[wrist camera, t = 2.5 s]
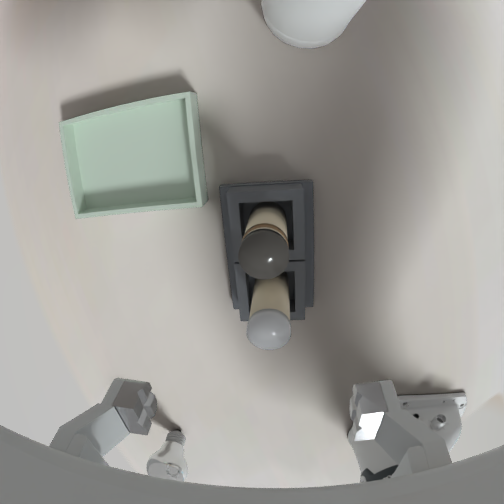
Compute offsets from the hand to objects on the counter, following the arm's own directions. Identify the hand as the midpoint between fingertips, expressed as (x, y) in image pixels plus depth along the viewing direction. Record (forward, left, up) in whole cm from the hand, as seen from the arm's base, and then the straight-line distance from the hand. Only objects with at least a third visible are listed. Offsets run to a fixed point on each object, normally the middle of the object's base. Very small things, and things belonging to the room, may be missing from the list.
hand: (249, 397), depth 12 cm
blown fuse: (0, 0, -22) cm, 22 cm away
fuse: (0, +7, -22) cm, 23 cm away
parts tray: (+14, -8, -23) cm, 28 cm away
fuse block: (0, +3, -23) cm, 23 cm away
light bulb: (+18, +38, -23) cm, 49 cm away
